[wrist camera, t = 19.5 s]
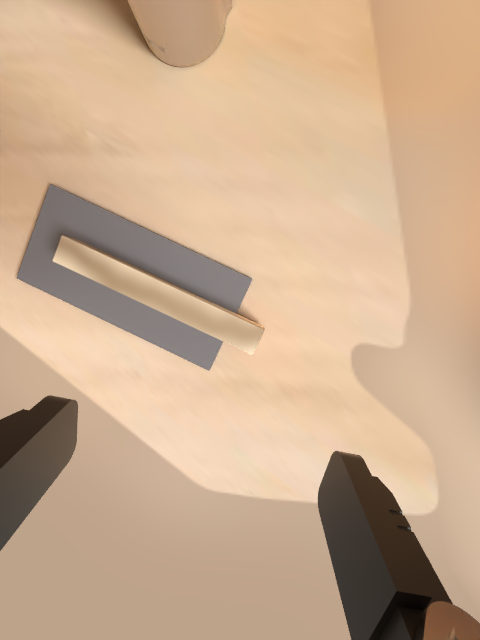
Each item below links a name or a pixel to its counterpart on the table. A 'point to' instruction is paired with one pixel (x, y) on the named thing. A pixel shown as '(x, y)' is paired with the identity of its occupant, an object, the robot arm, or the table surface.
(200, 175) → the table surface
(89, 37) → the table surface
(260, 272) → the table surface
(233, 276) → the charcoal mat
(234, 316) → the birch bar
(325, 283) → the table surface
